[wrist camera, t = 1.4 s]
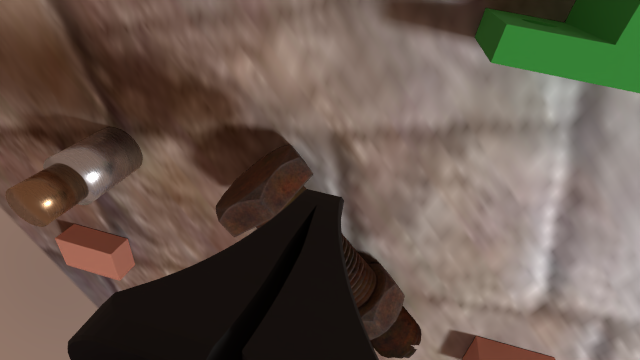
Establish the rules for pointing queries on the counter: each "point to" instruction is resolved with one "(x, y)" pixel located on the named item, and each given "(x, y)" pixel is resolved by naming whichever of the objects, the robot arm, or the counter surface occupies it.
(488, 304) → the counter surface
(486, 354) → the block
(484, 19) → the pipe clamp
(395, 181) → the counter surface
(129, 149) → the two-tone metal capsule
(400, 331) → the bolt
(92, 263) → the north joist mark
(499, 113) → the counter surface
